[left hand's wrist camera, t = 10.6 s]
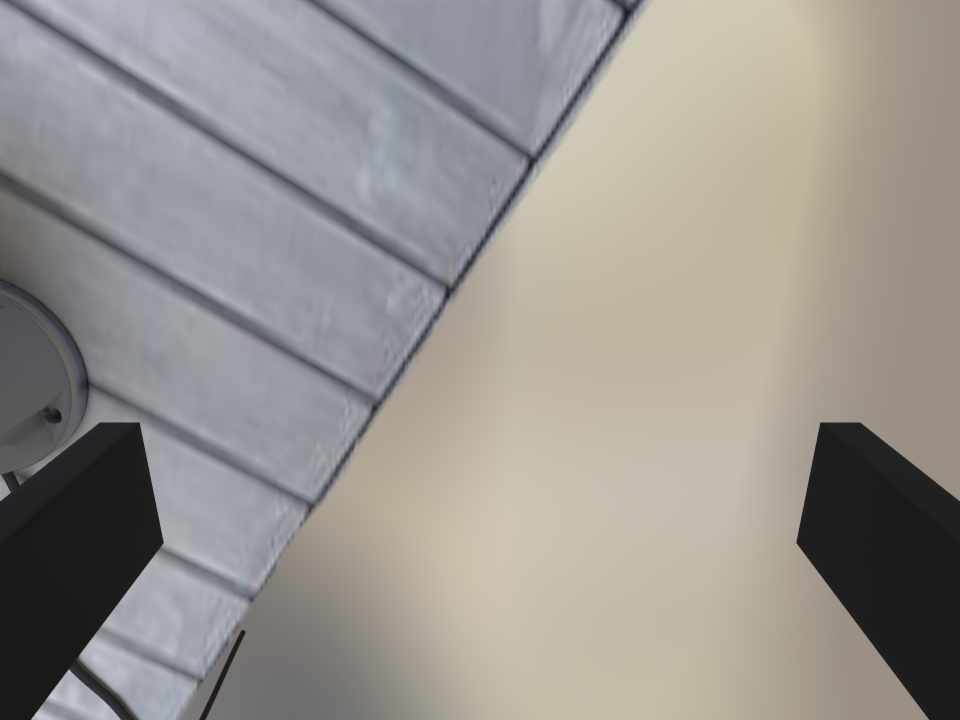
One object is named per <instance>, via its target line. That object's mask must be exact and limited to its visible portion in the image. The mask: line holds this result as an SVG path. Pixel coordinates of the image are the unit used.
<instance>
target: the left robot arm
mask: <svg viewBox="0 0 960 720" xmlns="http://www.w3.org/2000/svg"><path fill="white" fill-rule="evenodd" d="M86 400H87V380H86V374H85V369H84V366H83V362H82V360H81V357H80V354H79V352H78V350H77V348H76V346H75V344H74V342H73V340H72V339H71V337H70V336H69V334H68V333H67V331H66V330H65V328H64V327H63V326H62V324H61V323H60V322H59V321H58V320H57V319H56V318H55V316H54V315H53V314H52V313H51V312H50V311H48V310H47V309H46V308H45V307H44V306H43V305H42V304H40V303H39V302H38V301H37V300H35V299H34V298H33V297H31V296H30V295H28V294H27V293H25V292H23V291H22V290H20V289H19V288H17V287H15V286H13V285H11V284H9V283H6V282H4V281H1V280H0V474H1V475H2V477H3V478H4V480H5V482H6V484H7V486H8V488H9V490H10V492H11V493H10V494H9V495H8V496H6V497H5V498H4V499H3V500H1V501H0V720H31V719H32V717H33V716H34V715H35V713H36V712H37V711H38V709H39V708H40V707H41V705H42V704H43V703H44V701H45V700H46V699H47V697H48V696H49V695H50V694H51V692H52V691H53V690H54V688H55V687H56V686H57V684H58V683H59V682H60V680H61V679H62V678H63V676H64V675H65V674H66V672H67V671H68V670H70V671H71V672H72V673H73V674H74V675H75V676H76V677H77V678H78V679H79V680H81V681H82V682H83V683H84V684H85V685H86V686H87V687H89V688H90V689H91V690H92V691H93V692H94V693H96V694H97V695H98V696H99V697H100V698H101V699H102V700H104V701H105V702H106V703H107V704H108V705H109V706H110V707H111V708H112V709H113V711H114V712H115V713H116V714H117V715H118V717H119V718H120V719H121V720H133V718H132V717H131V716H130V715H129V713H128V712H127V711H126V710H125V708H124V707H123V706H122V705H121V704H120V703H119V701H118V700H117V699H116V698H115V697H114V696H113V695H112V694H111V693H110V692H108V691H107V690H106V689H105V688H104V687H103V686H102V685H100V684H99V683H98V682H97V681H96V680H95V679H93V678H92V677H91V676H90V675H89V674H88V673H87V672H86V671H85V670H83V668H82V667H81V666H80V665H79V664H78V663H77V662H76V661H75V660H76V659H77V658H78V656H79V655H80V654H81V652H82V651H83V650H84V648H85V647H86V646H87V644H88V643H89V642H90V640H91V639H92V638H93V636H94V635H95V634H96V632H97V631H98V630H99V628H100V627H101V626H102V624H103V623H104V622H105V620H106V619H107V618H108V616H109V615H110V614H111V612H112V611H113V610H114V608H115V607H116V606H117V604H118V603H119V602H120V600H121V599H122V598H123V596H124V595H125V594H126V592H127V591H128V590H129V588H130V587H131V586H132V584H133V583H134V582H135V580H136V579H137V578H138V576H139V575H140V574H141V572H142V571H143V570H144V568H145V567H146V566H147V564H148V563H149V562H150V560H151V559H152V558H153V556H154V555H155V554H156V552H157V551H158V550H159V548H160V547H161V546H162V544H163V543H164V542H163V537H162V532H161V527H160V522H159V517H158V512H157V507H156V502H155V497H154V492H153V487H152V482H151V477H150V472H149V467H148V462H147V457H146V452H145V447H144V442H143V437H142V432H141V427H140V423H99V424H97V425H96V426H95V427H94V428H92V429H91V430H90V431H89V432H87V433H86V434H85V435H83V436H82V437H81V438H80V439H78V440H77V441H76V442H75V443H73V444H72V445H71V446H70V447H68V448H67V449H66V450H65V451H63V452H62V453H61V454H59V455H58V456H57V457H56V458H54V459H53V460H52V461H51V462H49V463H48V464H47V465H46V466H44V467H43V468H42V469H41V470H39V471H38V472H37V473H35V474H34V475H33V476H32V477H30V478H29V479H28V480H27V481H25V482H24V483H23V484H22V485H19V483H18V481H17V479H16V477H15V475H14V473H13V471H15V470H19V469H23V468H25V467H28V466H31V465H33V464H35V463H37V462H39V461H40V460H42V459H43V458H45V457H46V456H48V455H49V454H50V453H52V452H53V451H54V450H55V449H57V448H58V447H59V446H61V445H62V444H63V443H64V442H65V441H67V439H68V438H69V437H70V436H71V435H72V434H73V433H74V431H75V430H76V429H77V427H78V425H79V423H80V421H81V419H82V416H83V414H84V410H85V407H86ZM796 543H797V544H798V546H799V547H800V548H801V550H802V551H803V552H804V554H805V555H806V556H807V558H808V559H809V560H810V562H811V563H812V564H813V566H814V567H815V568H816V570H817V571H818V572H819V574H820V575H821V576H822V578H823V579H824V580H825V582H826V583H827V584H828V586H829V587H830V588H831V590H832V591H833V592H834V594H835V595H836V596H837V598H838V599H839V600H840V602H841V603H842V604H843V606H844V607H845V608H846V609H847V611H848V612H849V614H850V615H851V616H852V618H853V619H854V620H855V622H856V623H857V624H858V626H859V627H860V628H861V630H862V631H863V632H864V634H865V635H866V636H867V638H868V639H869V640H870V642H871V643H872V644H873V646H874V647H875V648H876V650H877V651H878V652H879V654H880V655H881V656H882V658H883V659H884V660H885V662H886V663H887V664H888V666H889V667H890V668H891V669H892V671H893V672H894V673H895V675H896V676H897V678H898V679H899V680H900V682H901V683H902V684H903V686H904V687H905V688H906V690H907V691H908V692H909V694H910V695H911V696H912V697H913V699H914V700H915V701H916V703H917V704H918V705H919V707H920V708H921V709H922V711H923V712H924V713H925V715H926V716H927V717H928V719H929V720H960V501H959V500H957V499H956V498H955V497H954V496H952V495H951V494H950V493H949V492H947V491H946V490H945V489H943V488H942V487H941V486H940V485H938V484H937V483H936V482H935V481H933V480H932V479H931V478H930V477H928V476H927V475H926V474H925V473H923V472H922V471H921V470H919V469H918V468H917V467H916V466H914V465H913V464H912V463H911V462H909V461H908V460H907V459H906V458H904V457H903V456H902V455H900V454H899V453H898V452H897V451H895V450H894V449H893V448H892V447H890V446H889V445H888V444H887V443H885V442H884V441H883V440H882V439H880V438H879V437H878V436H877V435H875V434H874V433H873V432H871V431H870V430H869V429H868V428H866V427H865V426H864V425H863V424H861V423H820V427H819V432H818V437H817V442H816V447H815V452H814V457H813V462H812V467H811V472H810V477H809V482H808V487H807V492H806V497H805V502H804V507H803V512H802V517H801V522H800V527H799V532H798V537H797V542H796ZM245 633H246V631H245V630H241V632H240V634H239V636H238V638H237V640H236V642H235V644H234V646H233V648H232V650H231V652H230V655H229V657H228V659H227V661H226V663H225V665H224V668H223V670H222V672H221V674H220V676H219V678H218V681H217V683H216V685H215V687H214V689H213V691H212V694H211V696H210V698H209V700H208V702H207V704H206V706H205V709H204V711H203V713H202V715H201V717H200V719H199V720H206V718H207V716H208V714H209V712H210V709H211V707H212V705H213V703H214V701H215V699H216V697H217V694H218V692H219V690H220V688H221V685H222V683H223V681H224V679H225V677H226V674H227V672H228V670H229V668H230V665H231V663H232V661H233V659H234V657H235V654H236V652H237V650H238V648H239V646H240V644H241V642H242V640H243V637H244V635H245Z"/></svg>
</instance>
